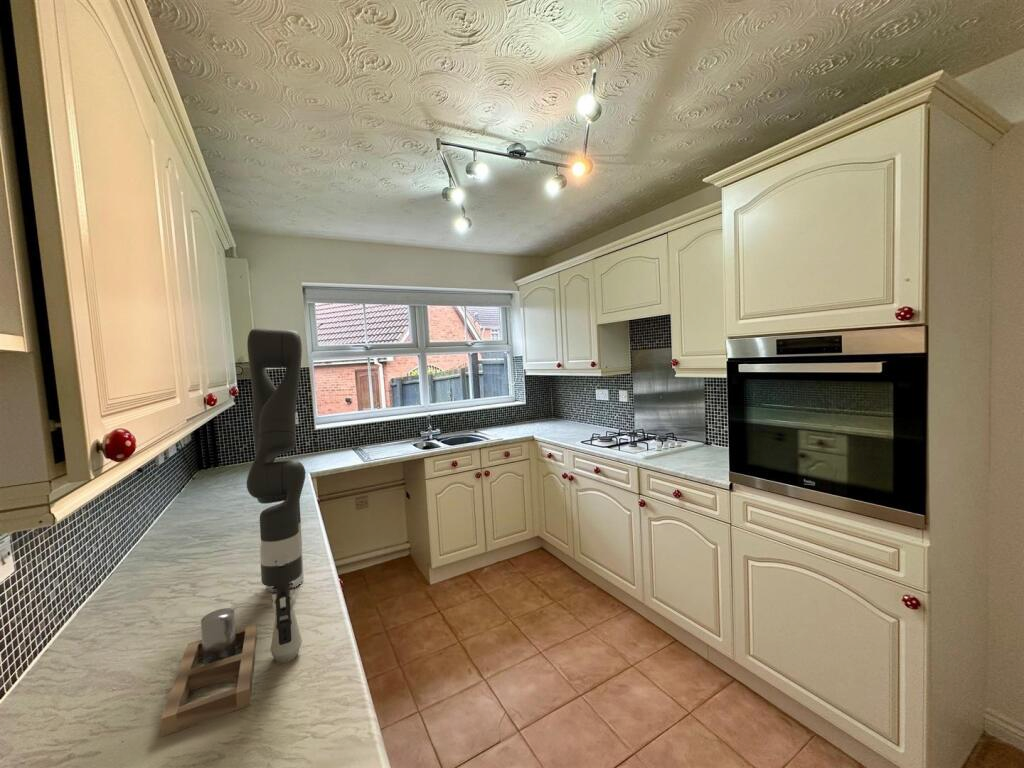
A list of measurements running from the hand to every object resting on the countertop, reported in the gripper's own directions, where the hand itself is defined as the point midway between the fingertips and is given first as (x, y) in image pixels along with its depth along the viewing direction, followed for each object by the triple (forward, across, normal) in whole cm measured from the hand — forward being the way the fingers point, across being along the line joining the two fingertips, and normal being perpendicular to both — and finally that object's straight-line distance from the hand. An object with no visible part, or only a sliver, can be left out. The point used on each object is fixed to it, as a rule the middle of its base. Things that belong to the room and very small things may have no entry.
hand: (285, 631), depth 87 cm
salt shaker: (+5, 0, 0) cm, 5 cm away
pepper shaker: (+5, -5, -12) cm, 14 cm away
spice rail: (+5, 0, -12) cm, 13 cm away
